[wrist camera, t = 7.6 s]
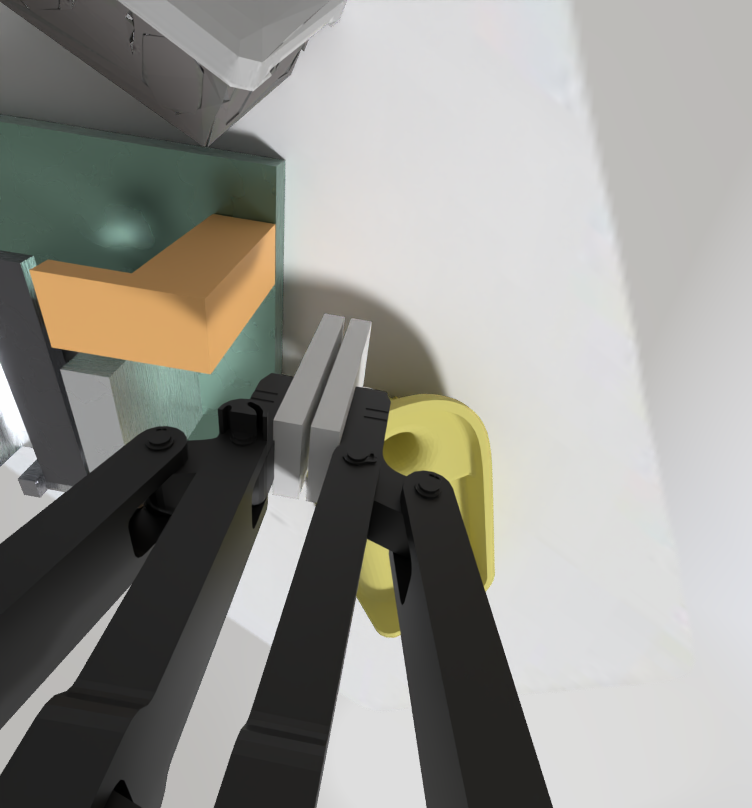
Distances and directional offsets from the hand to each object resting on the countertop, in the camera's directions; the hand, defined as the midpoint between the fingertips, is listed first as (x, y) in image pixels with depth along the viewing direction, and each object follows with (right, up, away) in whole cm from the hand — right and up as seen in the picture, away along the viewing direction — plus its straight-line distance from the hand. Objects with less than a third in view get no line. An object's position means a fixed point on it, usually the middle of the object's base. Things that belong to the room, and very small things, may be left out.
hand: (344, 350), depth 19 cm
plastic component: (+3, -7, +16) cm, 18 cm away
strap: (-14, -1, +5) cm, 15 cm away
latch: (-7, +6, +6) cm, 11 cm away
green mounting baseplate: (-14, +3, +11) cm, 18 cm away
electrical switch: (-5, +15, +1) cm, 16 cm away
